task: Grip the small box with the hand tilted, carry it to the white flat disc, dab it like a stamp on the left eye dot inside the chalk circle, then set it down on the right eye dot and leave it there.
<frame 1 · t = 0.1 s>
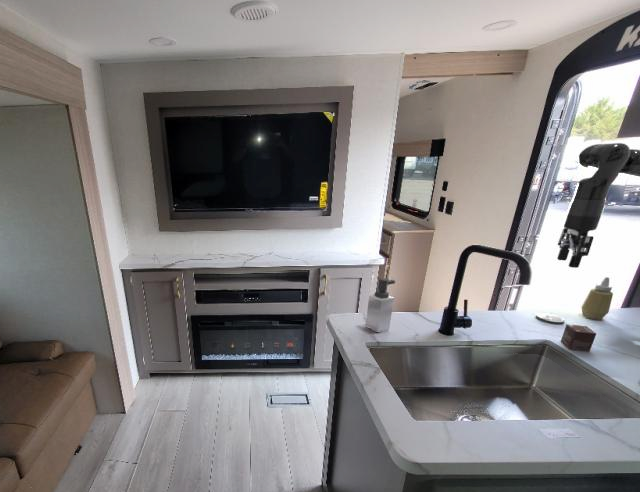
hand: (567, 263, 106), 33 cm above the worktop, tool pointing down, fingers open, 8 cm apart
box: (574, 346, 119), on the worktop
squeeze bottle: (591, 317, 140), on the worktop
white flat disc: (549, 319, 139), on the worktop
soap dispenser: (379, 328, 137), on the worktop
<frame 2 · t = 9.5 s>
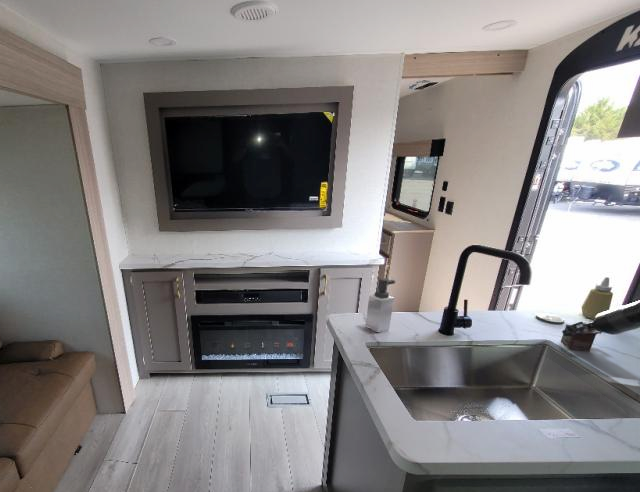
hand: (575, 333, 119), 5 cm above the worktop, tool tilted 45°, fingers closed on box, 7 cm apart
box: (574, 346, 119), on the worktop, touching gripper
everything else where it was.
when the fingers open (6 cm above the worktop, at t = 21.8 s): box stays where it is, resting on white flat disc.
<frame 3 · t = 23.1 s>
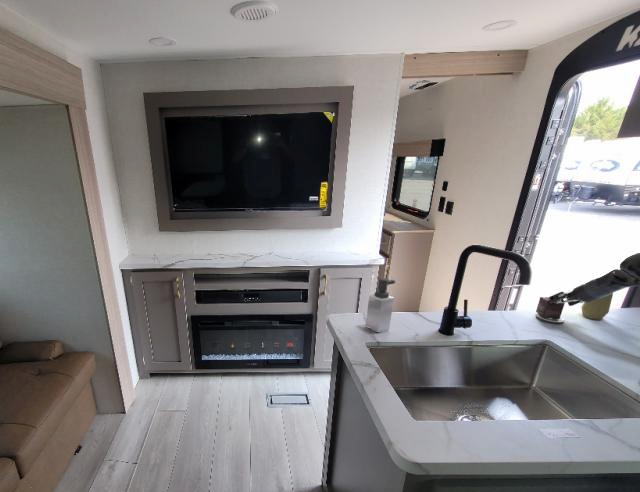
hand: (558, 303, 135), 8 cm above the worktop, tool tilted 45°, fingers open, 8 cm apart
box: (547, 315, 140), point 1 cm above the worktop, touching white flat disc
everything else where it was.
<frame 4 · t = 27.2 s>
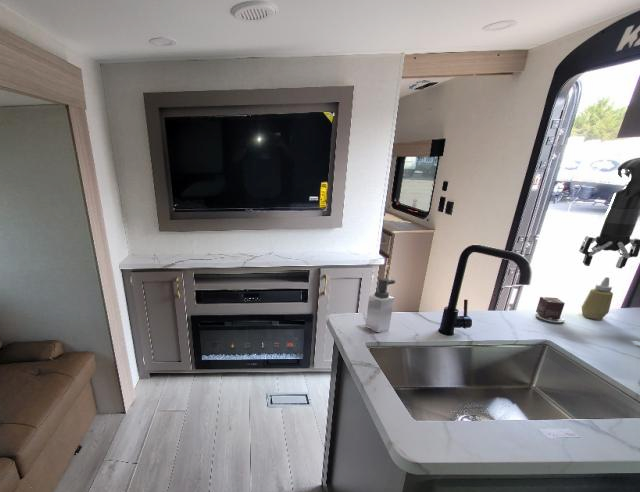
hand: (602, 266, 116), 28 cm above the worktop, tool pointing down, fingers open, 8 cm apart
nothing on the worktop moved.
at the end: box 0.5 cm from the target spot on the white flat disc, point 1.1 cm above the white flat disc's base; box tilted 0°; the gripper is holding nothing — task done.
